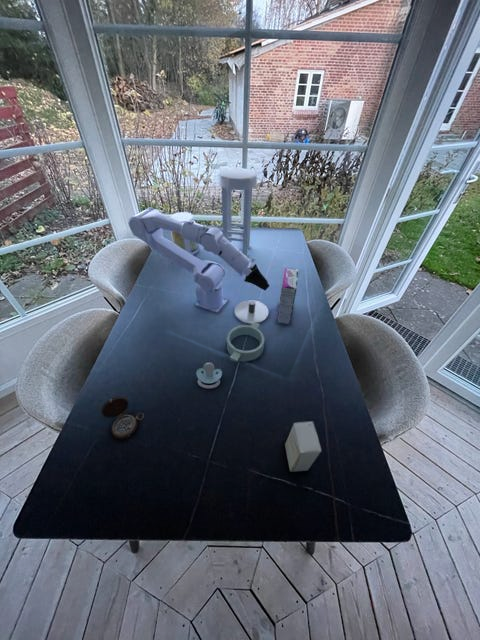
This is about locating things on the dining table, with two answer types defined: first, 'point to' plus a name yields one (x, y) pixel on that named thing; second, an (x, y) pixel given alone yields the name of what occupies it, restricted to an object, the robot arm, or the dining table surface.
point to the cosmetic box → (302, 446)
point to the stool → (229, 182)
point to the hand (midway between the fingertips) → (266, 286)
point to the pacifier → (208, 376)
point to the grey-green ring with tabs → (245, 330)
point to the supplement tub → (177, 238)
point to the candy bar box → (287, 295)
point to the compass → (120, 417)
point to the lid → (251, 311)
